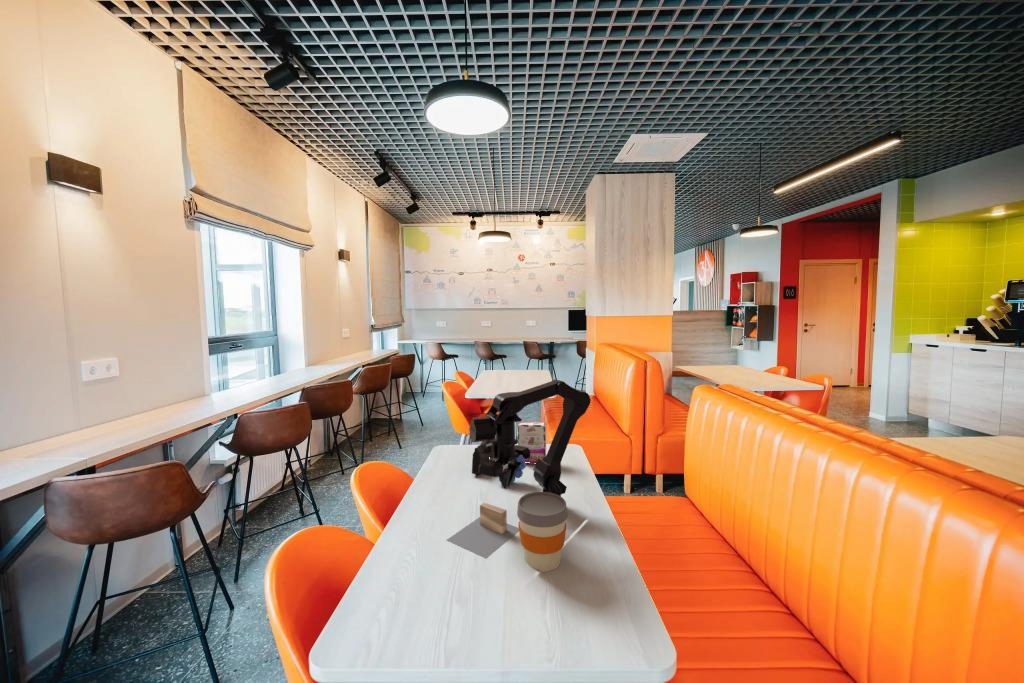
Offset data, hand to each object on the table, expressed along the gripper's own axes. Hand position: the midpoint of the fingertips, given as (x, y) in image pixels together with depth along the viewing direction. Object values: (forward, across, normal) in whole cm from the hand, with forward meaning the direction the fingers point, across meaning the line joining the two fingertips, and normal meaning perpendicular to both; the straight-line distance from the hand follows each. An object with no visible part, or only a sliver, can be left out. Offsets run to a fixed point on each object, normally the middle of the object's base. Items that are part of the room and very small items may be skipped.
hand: (506, 487), depth 117 cm
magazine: (+10, -32, -34) cm, 47 cm away
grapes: (+10, -22, -14) cm, 28 cm away
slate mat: (+10, +10, 0) cm, 14 cm away
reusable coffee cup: (+10, +10, +19) cm, 23 cm away
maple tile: (+9, +6, 0) cm, 11 cm away
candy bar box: (+10, -42, -17) cm, 46 cm away
